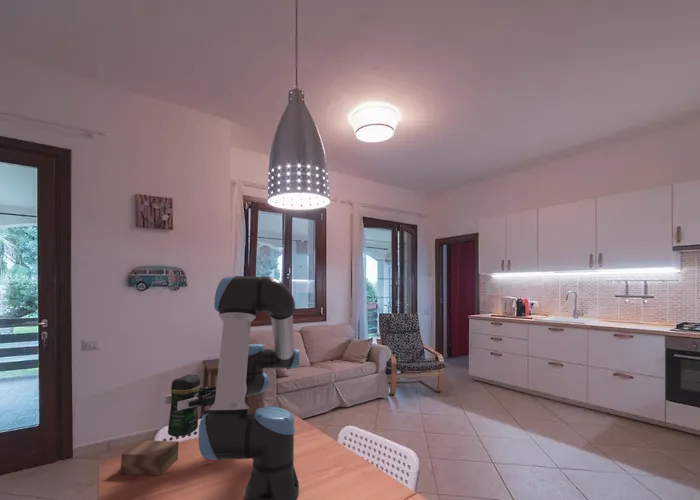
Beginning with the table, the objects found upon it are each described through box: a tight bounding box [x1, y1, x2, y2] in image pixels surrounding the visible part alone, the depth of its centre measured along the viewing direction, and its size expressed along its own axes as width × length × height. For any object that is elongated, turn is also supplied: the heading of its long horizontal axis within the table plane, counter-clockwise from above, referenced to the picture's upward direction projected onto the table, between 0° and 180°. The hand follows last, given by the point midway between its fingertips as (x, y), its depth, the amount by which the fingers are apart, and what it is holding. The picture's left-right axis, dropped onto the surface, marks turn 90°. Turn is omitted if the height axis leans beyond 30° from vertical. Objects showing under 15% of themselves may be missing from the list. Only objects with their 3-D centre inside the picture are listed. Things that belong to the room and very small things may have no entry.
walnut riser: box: [119, 439, 179, 476], centre depth 123 cm, size 13×11×6 cm
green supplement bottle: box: [167, 373, 201, 438], centre depth 126 cm, size 10×8×19 cm
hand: (171, 403), depth 122 cm, fingers closed on green supplement bottle, 9 cm apart
